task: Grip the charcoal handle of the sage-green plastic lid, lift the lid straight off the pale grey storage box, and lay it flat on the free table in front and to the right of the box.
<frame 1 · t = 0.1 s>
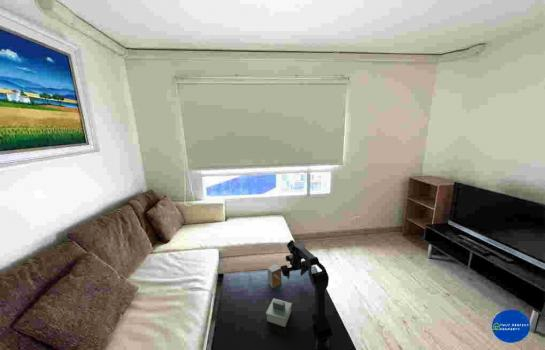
hand: (294, 277, 138), 15 cm above the table, tool pointing down, fingers open, 9 cm apart
storage box: (279, 316, 127), on the table
lid: (279, 310, 126), point 4 cm above the table, touching storage box
small box: (274, 284, 155), on the table
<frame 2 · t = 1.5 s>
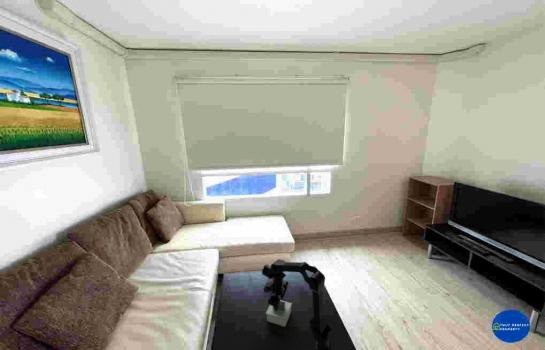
hand: (279, 304, 126), 8 cm above the table, tool pointing down, fingers open, 9 cm apart
nothing on the table moved.
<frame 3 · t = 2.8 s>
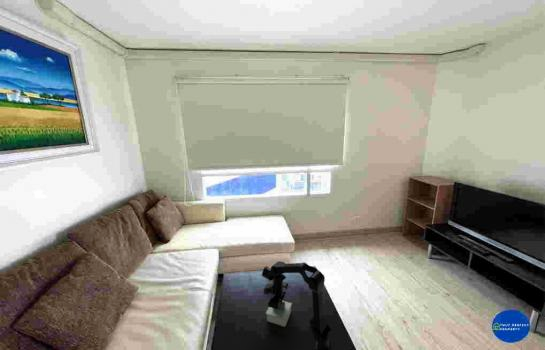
hand: (279, 306, 126), 7 cm above the table, tool pointing down, fingers closed on lid, 2 cm apart
lid: (279, 310, 126), point 4 cm above the table, touching gripper, storage box
everything else where it was.
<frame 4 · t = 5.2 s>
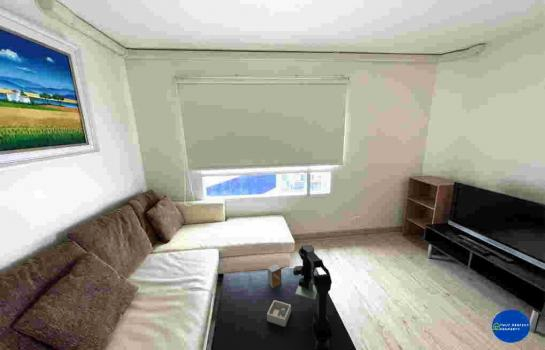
hand: (307, 287, 132), 13 cm above the table, tool pointing down, fingers closed on lid, 2 cm apart
lid: (307, 291, 132), point 10 cm above the table, touching gripper
everything else where it was.
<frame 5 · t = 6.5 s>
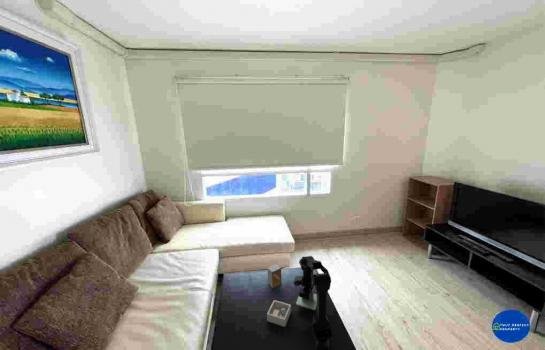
hand: (307, 297, 133), 6 cm above the table, tool pointing down, fingers closed on lid, 2 cm apart
lid: (307, 301, 134), point 3 cm above the table, touching gripper
everything else where it was.
when the fingers open (4 cm above the table, at t = 7.4 s): lid drops 2 cm, on the table.
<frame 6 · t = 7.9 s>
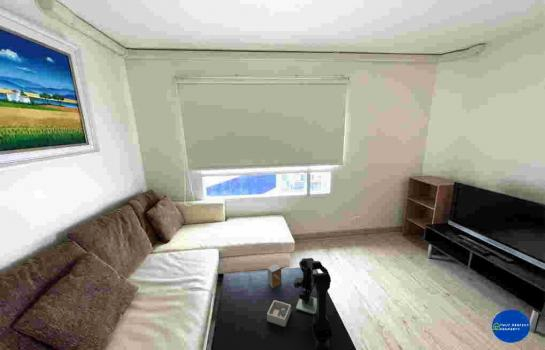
hand: (307, 299, 134), 4 cm above the table, tool pointing down, fingers open, 8 cm apart
lid: (307, 305, 135), on the table
everything else where it was.
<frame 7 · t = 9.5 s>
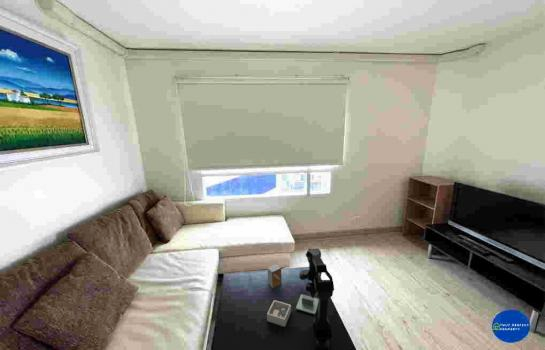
hand: (314, 292, 128), 13 cm above the table, tool pointing down, fingers open, 9 cm apart
nothing on the table moved.
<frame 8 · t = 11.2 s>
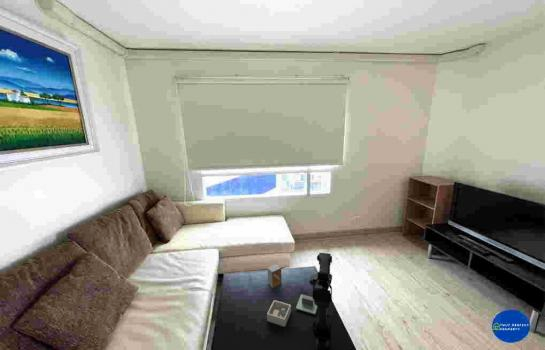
hand: (324, 297, 123), 13 cm above the table, tool pointing down, fingers open, 9 cm apart
nothing on the table moved.
at the end: lid inside the target area (0.1 cm from its centre), on the table; lid tilted 0°; the gripper is holding nothing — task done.
